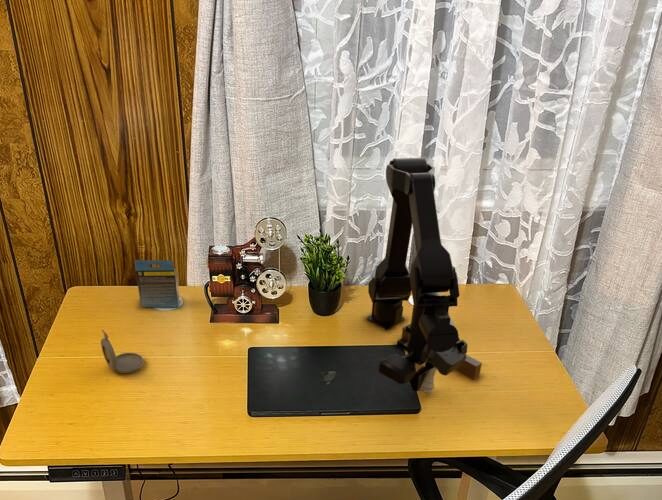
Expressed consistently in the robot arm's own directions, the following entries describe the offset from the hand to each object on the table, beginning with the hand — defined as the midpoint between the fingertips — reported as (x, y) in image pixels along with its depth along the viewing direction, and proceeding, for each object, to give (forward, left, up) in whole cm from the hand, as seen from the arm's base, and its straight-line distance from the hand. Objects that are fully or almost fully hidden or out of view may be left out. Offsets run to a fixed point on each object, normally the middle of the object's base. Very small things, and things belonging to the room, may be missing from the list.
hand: (415, 390), depth 152 cm
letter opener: (-9, +13, -2) cm, 16 cm away
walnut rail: (-5, +15, -2) cm, 16 cm away
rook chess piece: (0, +2, -1) cm, 2 cm away
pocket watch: (-49, -37, -2) cm, 62 cm away
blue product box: (-64, -16, -2) cm, 66 cm away
